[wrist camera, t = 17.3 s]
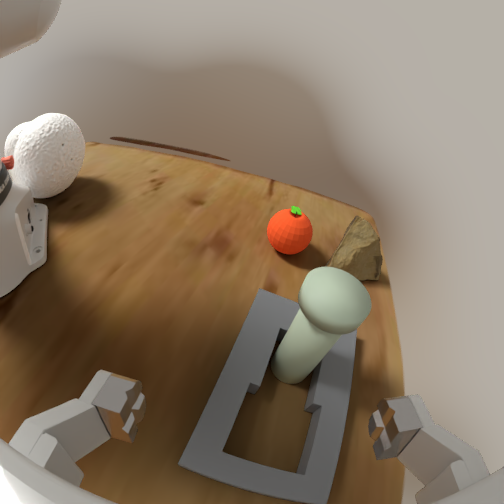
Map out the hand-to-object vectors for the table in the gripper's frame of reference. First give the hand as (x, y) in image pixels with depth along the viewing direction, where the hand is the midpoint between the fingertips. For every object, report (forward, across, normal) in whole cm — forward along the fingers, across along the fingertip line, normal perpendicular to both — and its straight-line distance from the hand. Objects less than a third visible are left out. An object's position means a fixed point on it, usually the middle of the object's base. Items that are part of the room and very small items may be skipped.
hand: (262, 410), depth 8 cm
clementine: (+37, -3, +6) cm, 38 cm away
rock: (+35, -15, +9) cm, 39 cm away
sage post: (+17, -4, +13) cm, 22 cm away
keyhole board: (+14, -3, +14) cm, 20 cm away
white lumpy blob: (+36, +42, -1) cm, 56 cm away
